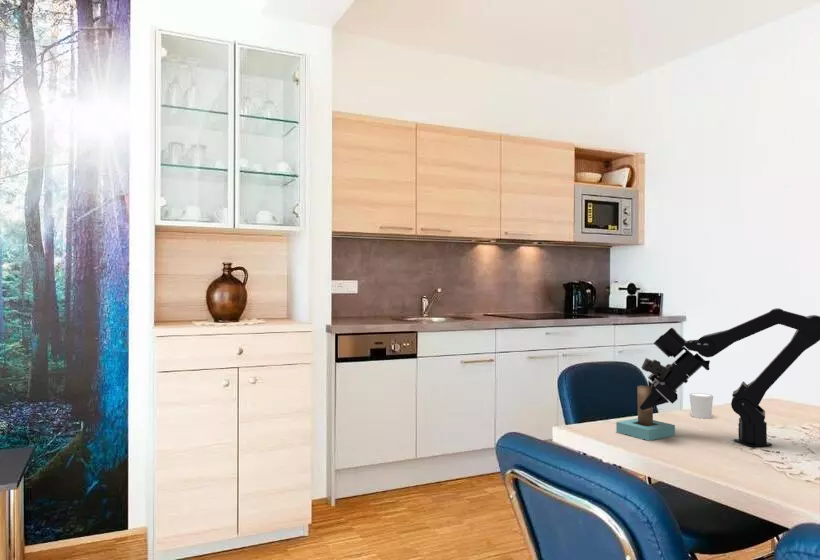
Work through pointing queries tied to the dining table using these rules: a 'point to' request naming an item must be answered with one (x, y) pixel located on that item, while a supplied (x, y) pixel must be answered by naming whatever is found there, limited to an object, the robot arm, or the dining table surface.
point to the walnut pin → (645, 415)
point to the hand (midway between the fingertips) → (640, 407)
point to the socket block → (645, 429)
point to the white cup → (701, 405)
